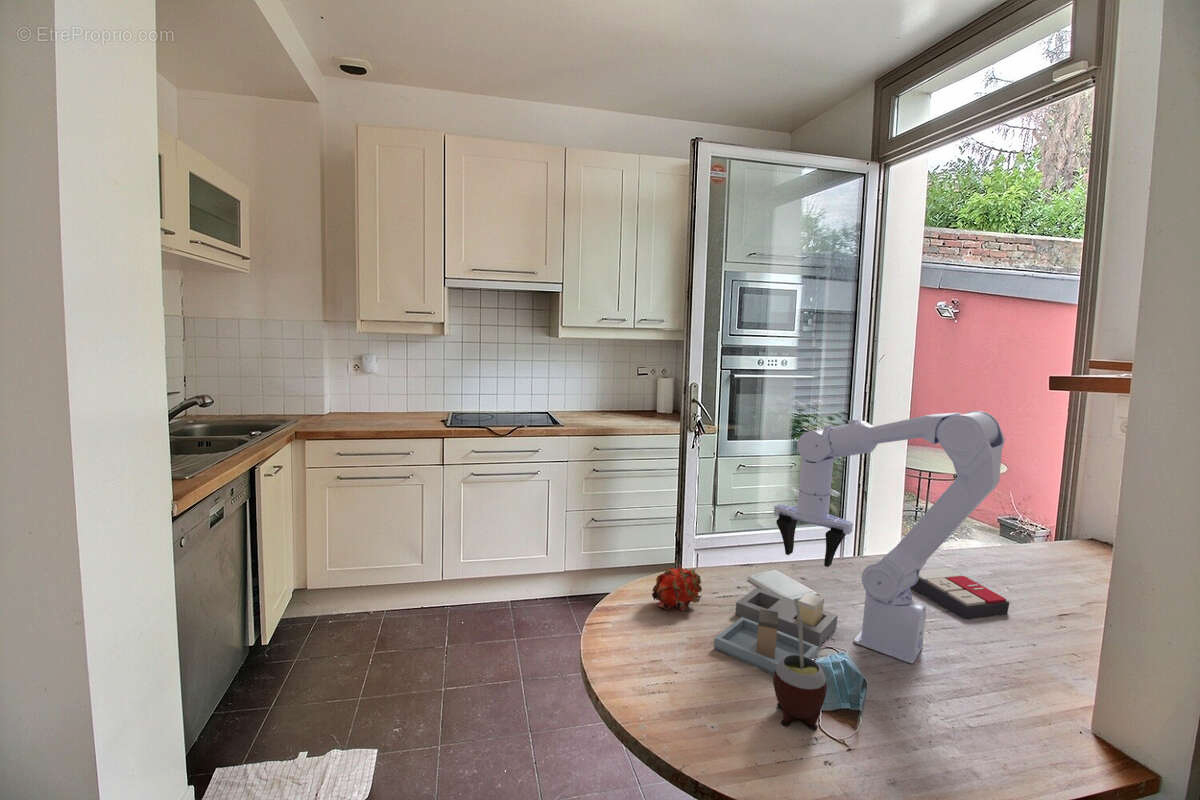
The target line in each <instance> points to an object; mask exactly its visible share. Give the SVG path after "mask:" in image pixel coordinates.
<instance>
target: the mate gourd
mask: <svg viewBox="0 0 1200 800" xmlns="http://www.w3.org/2000/svg"><path fill="white" fill-rule="evenodd" d="M794 603H795V607H796V611H797V617H798V621H797V624H798V625H797V626H798V630H799V655H788V656H786V657H784V658H783V659H781V660H780V662H779V663H778V665H777V667H776V670H775V673H774V675H773V677H772V678H773V679H772V684H773V690H774V693H775V697H776V700H777V703H776V707H777V708H779V710H781V711H782V715H783V716H782V717H783V720H781V721H780V722H781V723H780V724H781V726H783V727H784V728H787V727H789V726H790V725H792V724H794V723H796V722H799V723H801V724H802V725H803V726H805V727H807V728H808V729H810V730H812V731H813V732H815V731H817V730H818V725H817V724H816V723H817V722H818V720H819V717H820V714H821V712H822V711H821V710H822V707H823V705H824V702H825V698H826V696H827V690H828V685H827V677H826V676H825V673H824V670H823V668H822V667H821V665H820V664H818V663H817V662H816V660H815V661H814V660H812V659H810V658H808V657H805V656H803V633H802V628H803V621H802V618H801V613H800V608H799V604H798V600H797V599H794Z"/></svg>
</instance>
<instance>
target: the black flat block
mask: <svg viewBox="0 0 1200 800" xmlns="http://www.w3.org/2000/svg"><path fill="white" fill-rule="evenodd" d="M910 590H911V591H913V592H915V593H917V594H919V595H920V596H924V597H925V598H927V599H929V600H930V601H932V602H933V603H935V604H937V605H938V606H940V607H941V608H944V609H945V610H947V611H948V612H950V613H952V614H954V615H956V616H958V617H959V618H961V619H962V620H966V621H968V620H974V619H982V618H989V617H990V618H991V617H999V616H1006V615H1008V614H1009V613H1008V612H1009V607H1010V602H1009V601H1008V600H1007V598H1005V597H1004V596H1002V595H1000V594H998V593H996V592H995V591H993V590H991V589H989V588H987V587H985V586H984V585H982V584H980V583H978V582H976V581H974V580H972V579H971V578H970V577H967V576H965V575H962V574H960V573H958V572H956V571H954V570H952V569H951V568H948V567H941V568H932V569H931V568H930V569H921V570H920V573H919V579H918V581H917V583H916V584H915V585H913V586H911V589H910Z"/></svg>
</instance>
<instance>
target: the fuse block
mask: <svg viewBox="0 0 1200 800" xmlns="http://www.w3.org/2000/svg"><path fill="white" fill-rule="evenodd" d="M759 605H760V606H759ZM762 606H764V607H762ZM765 607H766V608H765ZM760 609H764V610H769V611H774V612H778V625H777V631H780V632H782V633H785V634H788V635H790V636H793V637H795V638H798V639H799V630H798V626H797V625H798V624H797V621H798V620H797V611H796V607H795V603H794V600H792V599H790V598H787V597H784V596H781V595H778V594H775V593H772V592H769V591H766V590H764V589H762V588H761V587H759V586H757V587H755V588H754V589H753V590H751V591H749V592H748V593H747V594H745V595H744V596H743V597H741V598H740V599H739V600H738V601H736V602H735V615H736V616H738V617H740V618H741V617H744V618H746V619H749V620H751V621H754V622H757V623H759V614H760ZM837 625H838V614H836V613H833V612H830V611H827V610H824V609H823V615H822V621H821V622H820V623H819V624H818V625H817V626H816V627H814V626H812V625H809V624H806V623H803V628H802V633H803V641H806V642H808V643H811V644H814V645H816V646H818V648H820V647H821V645H822V644H823V643H824V642H825V641H826V640H827V639H828V638H829V636H830V635H831V634H833V632H834V631H835V630H836V629H837V628H838V627H837Z"/></svg>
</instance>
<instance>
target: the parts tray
mask: <svg viewBox="0 0 1200 800" xmlns="http://www.w3.org/2000/svg"><path fill="white" fill-rule="evenodd" d="M757 636H758V623H757V622H754V621H751V620H749V619H746V618H744V617H740V618H738V619H737V620H735V621H734V622H733V623H732V624H731V625H729V626H728V627H726V628H725V629H724V630H723V631H722V632H720V633H719V634H717V636H715V637H714V642H713V643H714V644H713V649H714V650H716V651H719V652H720V653H722V654H725V655H727V656H729V657H732V658H734V659H737V660H739V661H740V662H743V663H746V664H747V665H750V666H752V667H755V668H757V669H759V670H760V671H761V670H762V671H763V672H766V673H768V674H770V675H773V676H774V673H775V670H776V667H777V665H778V663H779V662H780V660H781V659H783V658H784V657H786V656H788V655H799V639H798V638H795V637H793V636H790V635H788V634H785V633H782V632H780V631H777V638H776V650H775V659H772V658H768V657H766V656H763V655H761V654H758V653H756V648H757ZM818 653H819V647H818V646H816V645H814V644H811V643H808V642H806V641H803V656H805V657H808V658H810V659H814V658H816V659H818Z"/></svg>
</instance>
